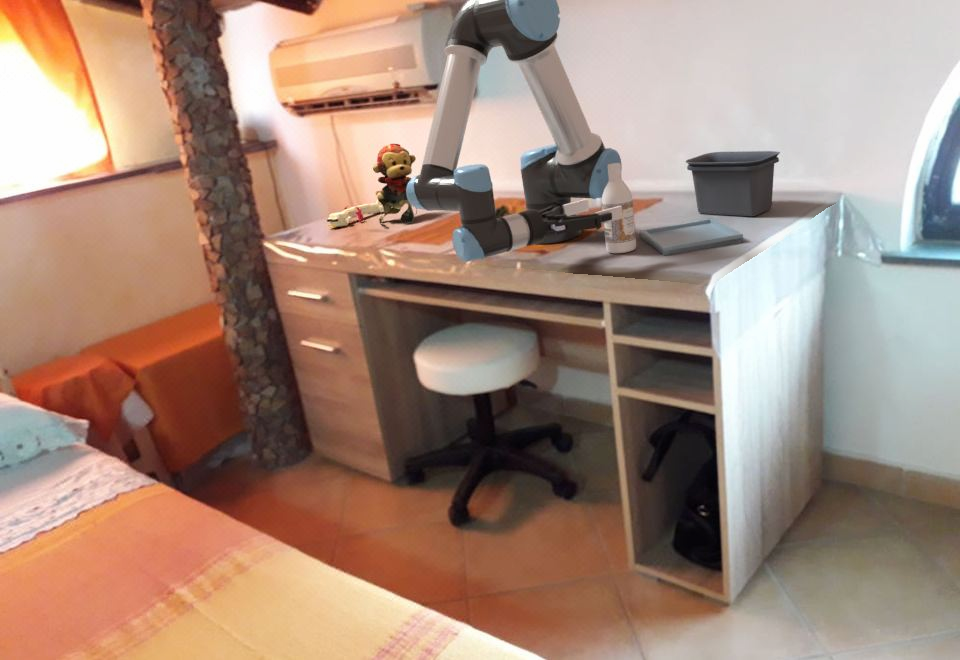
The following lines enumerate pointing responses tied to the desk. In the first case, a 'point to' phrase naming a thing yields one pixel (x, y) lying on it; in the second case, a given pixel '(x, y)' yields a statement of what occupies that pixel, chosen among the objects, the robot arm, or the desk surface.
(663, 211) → the desk surface
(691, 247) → the tray
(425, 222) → the desk surface
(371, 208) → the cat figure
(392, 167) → the stuffed monkey
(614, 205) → the bath foam
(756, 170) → the storage bin
